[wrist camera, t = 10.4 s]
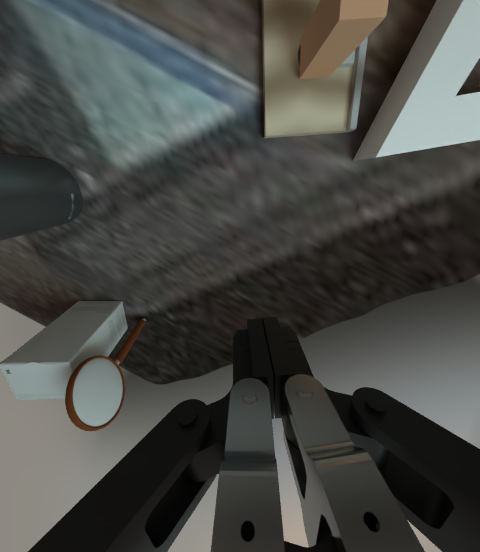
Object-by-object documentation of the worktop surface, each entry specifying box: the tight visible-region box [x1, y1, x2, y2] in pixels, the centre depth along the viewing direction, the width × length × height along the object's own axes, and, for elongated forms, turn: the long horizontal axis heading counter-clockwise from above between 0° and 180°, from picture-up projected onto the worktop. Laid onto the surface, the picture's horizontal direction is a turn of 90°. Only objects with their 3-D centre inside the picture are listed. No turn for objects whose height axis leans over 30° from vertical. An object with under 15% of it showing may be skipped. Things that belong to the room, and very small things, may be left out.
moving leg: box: [300, 0, 389, 79], centre depth 21 cm, size 4×6×11 cm, turn 94°
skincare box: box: [0, 301, 127, 400], centre depth 35 cm, size 8×7×16 cm
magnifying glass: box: [65, 318, 146, 431], centre depth 33 cm, size 9×2×20 cm, turn 19°
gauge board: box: [262, 0, 368, 138], centre depth 25 cm, size 22×12×2 cm, turn 4°
